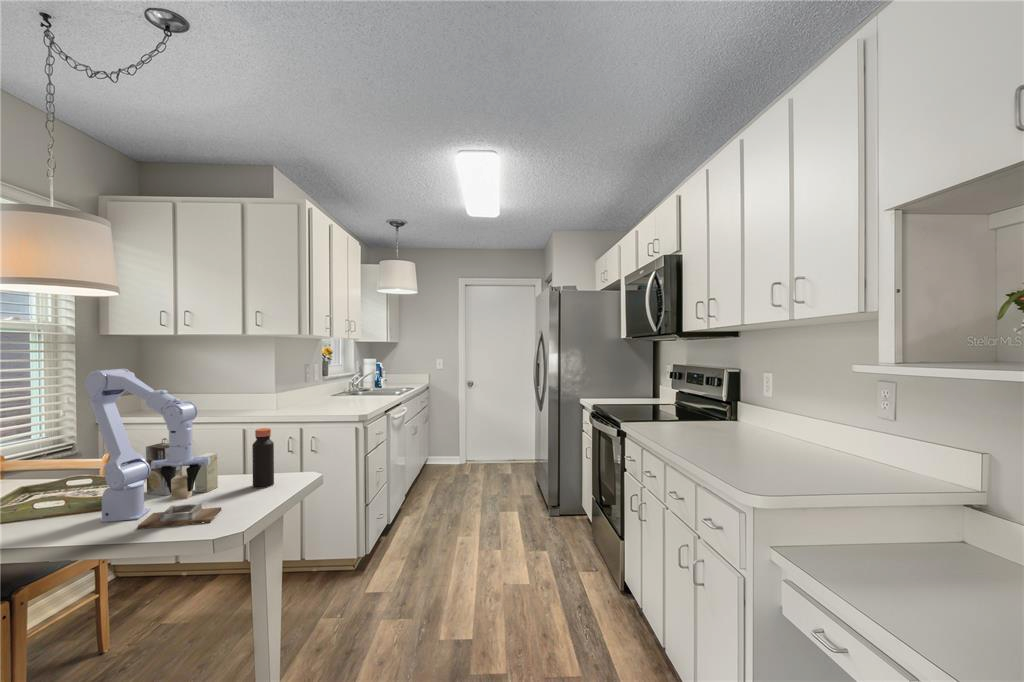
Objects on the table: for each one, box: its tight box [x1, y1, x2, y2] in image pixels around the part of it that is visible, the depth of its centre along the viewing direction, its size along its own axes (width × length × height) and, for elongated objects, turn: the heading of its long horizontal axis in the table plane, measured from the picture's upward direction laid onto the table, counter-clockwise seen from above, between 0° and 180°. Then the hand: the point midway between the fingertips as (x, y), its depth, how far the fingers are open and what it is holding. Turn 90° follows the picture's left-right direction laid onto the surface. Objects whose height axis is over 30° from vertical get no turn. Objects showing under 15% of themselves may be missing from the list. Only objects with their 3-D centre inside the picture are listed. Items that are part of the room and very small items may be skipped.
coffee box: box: [145, 442, 183, 497], centre depth 169 cm, size 9×6×16 cm
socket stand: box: [137, 502, 222, 530], centre depth 145 cm, size 18×10×3 cm, turn 105°
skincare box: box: [194, 452, 219, 493], centre depth 172 cm, size 6×4×12 cm
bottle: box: [251, 427, 275, 488], centre depth 177 cm, size 7×7×20 cm
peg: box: [170, 474, 193, 501], centre depth 145 cm, size 4×4×6 cm
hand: (181, 491), depth 144 cm, fingers closed on peg, 4 cm apart
